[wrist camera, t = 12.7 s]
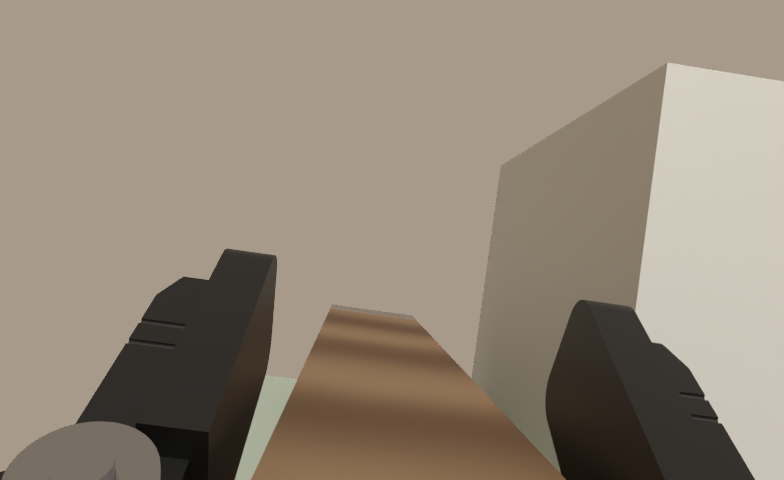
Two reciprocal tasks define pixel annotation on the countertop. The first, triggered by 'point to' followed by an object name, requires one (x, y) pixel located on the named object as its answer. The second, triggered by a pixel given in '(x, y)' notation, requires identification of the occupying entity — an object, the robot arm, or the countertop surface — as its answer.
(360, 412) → the walnut block
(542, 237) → the stepped stand
